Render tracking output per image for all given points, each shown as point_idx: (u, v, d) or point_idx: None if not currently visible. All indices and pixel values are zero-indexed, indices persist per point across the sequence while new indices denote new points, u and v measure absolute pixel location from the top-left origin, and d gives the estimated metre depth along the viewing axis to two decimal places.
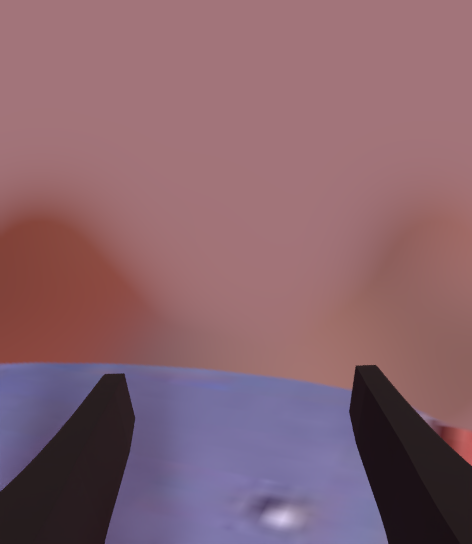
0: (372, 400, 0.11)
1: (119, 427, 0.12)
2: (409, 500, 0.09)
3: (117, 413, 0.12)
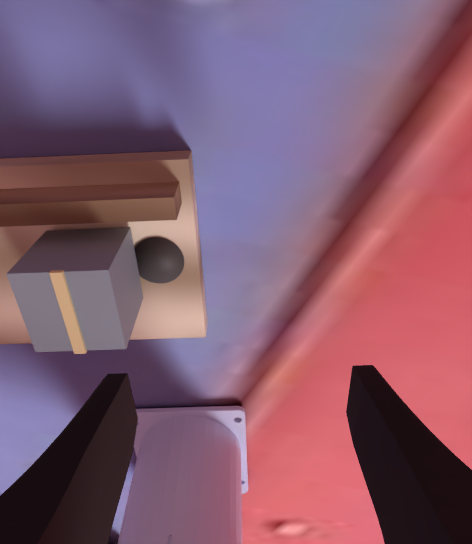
0: (369, 400, 0.11)
1: (122, 427, 0.12)
2: (405, 500, 0.09)
3: (120, 413, 0.12)
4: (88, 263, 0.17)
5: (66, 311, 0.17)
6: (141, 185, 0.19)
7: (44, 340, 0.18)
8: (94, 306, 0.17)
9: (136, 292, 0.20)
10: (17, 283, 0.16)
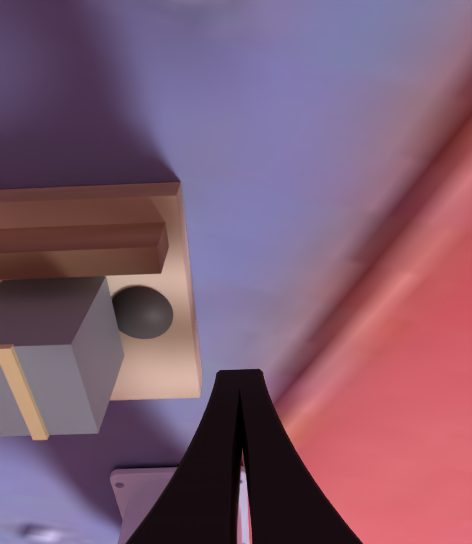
0: (241, 404, 0.11)
1: (240, 423, 0.12)
2: None
3: (239, 409, 0.12)
4: (46, 333, 0.13)
5: (19, 393, 0.13)
6: (118, 227, 0.15)
7: None
8: (55, 386, 0.13)
9: (114, 354, 0.17)
10: None
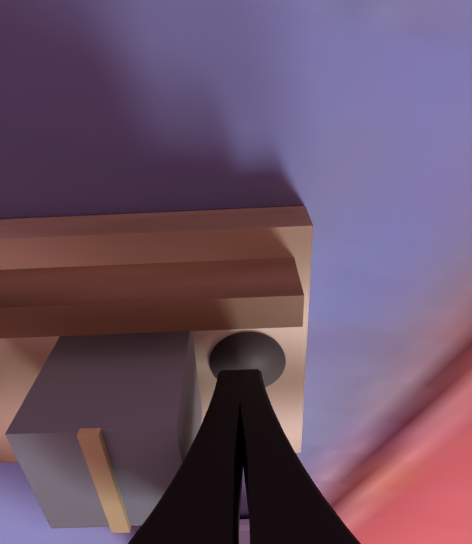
0: (240, 404, 0.11)
1: None
2: None
3: None
4: (139, 409, 0.10)
5: (103, 484, 0.10)
6: (238, 265, 0.12)
7: (65, 514, 0.11)
8: (148, 474, 0.10)
9: (197, 414, 0.14)
10: (23, 447, 0.10)
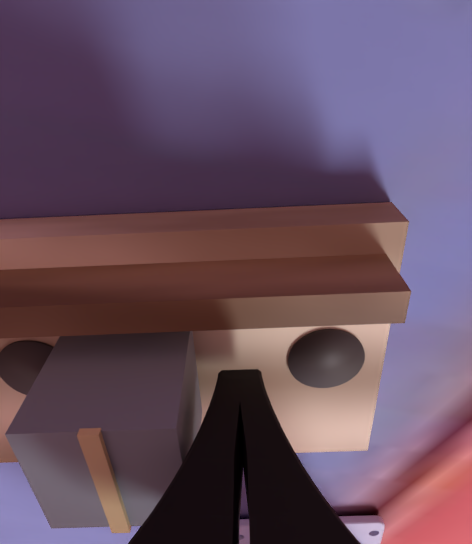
0: (240, 404, 0.11)
1: None
2: None
3: None
4: (139, 409, 0.10)
5: (103, 484, 0.10)
6: (331, 261, 0.12)
7: (65, 514, 0.11)
8: (148, 475, 0.10)
9: (197, 414, 0.14)
10: (23, 447, 0.10)
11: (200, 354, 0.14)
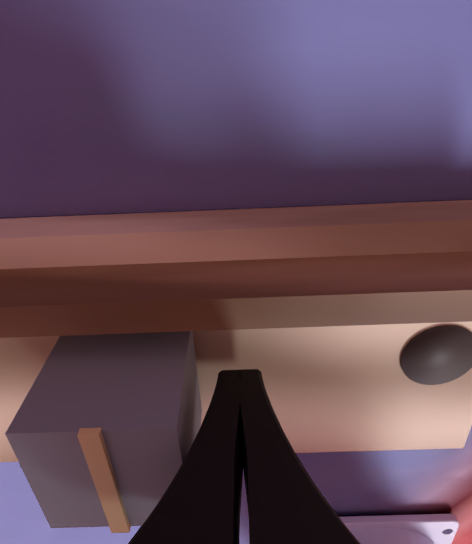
0: (240, 404, 0.11)
1: None
2: None
3: None
4: (140, 409, 0.10)
5: (103, 484, 0.10)
6: (466, 256, 0.12)
7: (65, 514, 0.11)
8: (148, 474, 0.10)
9: (197, 414, 0.14)
10: (23, 446, 0.10)
11: (314, 350, 0.14)
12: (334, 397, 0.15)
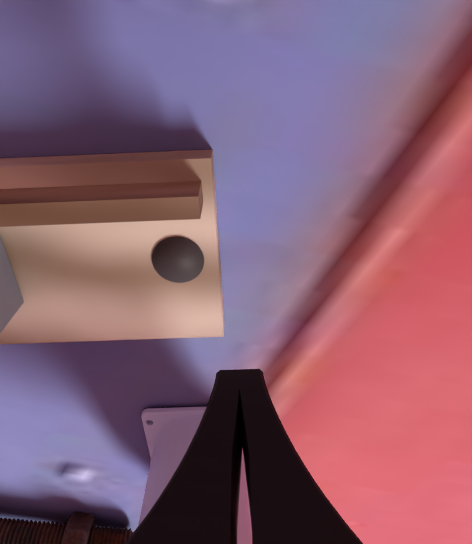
0: (241, 404, 0.11)
1: (240, 423, 0.12)
2: None
3: (240, 409, 0.12)
4: None
5: None
6: (163, 184, 0.19)
7: None
8: None
9: (9, 297, 0.20)
10: None
11: (91, 255, 0.21)
12: (117, 293, 0.22)
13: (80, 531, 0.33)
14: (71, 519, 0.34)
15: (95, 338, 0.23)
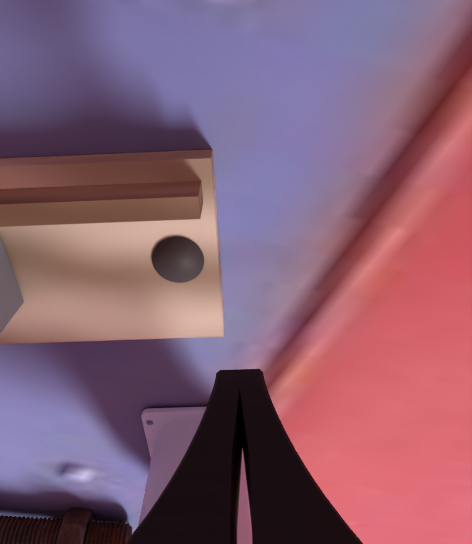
0: (241, 404, 0.11)
1: (240, 423, 0.12)
2: None
3: (240, 409, 0.12)
4: None
5: None
6: (163, 184, 0.19)
7: None
8: None
9: (9, 297, 0.20)
10: None
11: (91, 255, 0.21)
12: (117, 293, 0.22)
13: (76, 526, 0.32)
14: (67, 514, 0.33)
15: (95, 338, 0.23)
